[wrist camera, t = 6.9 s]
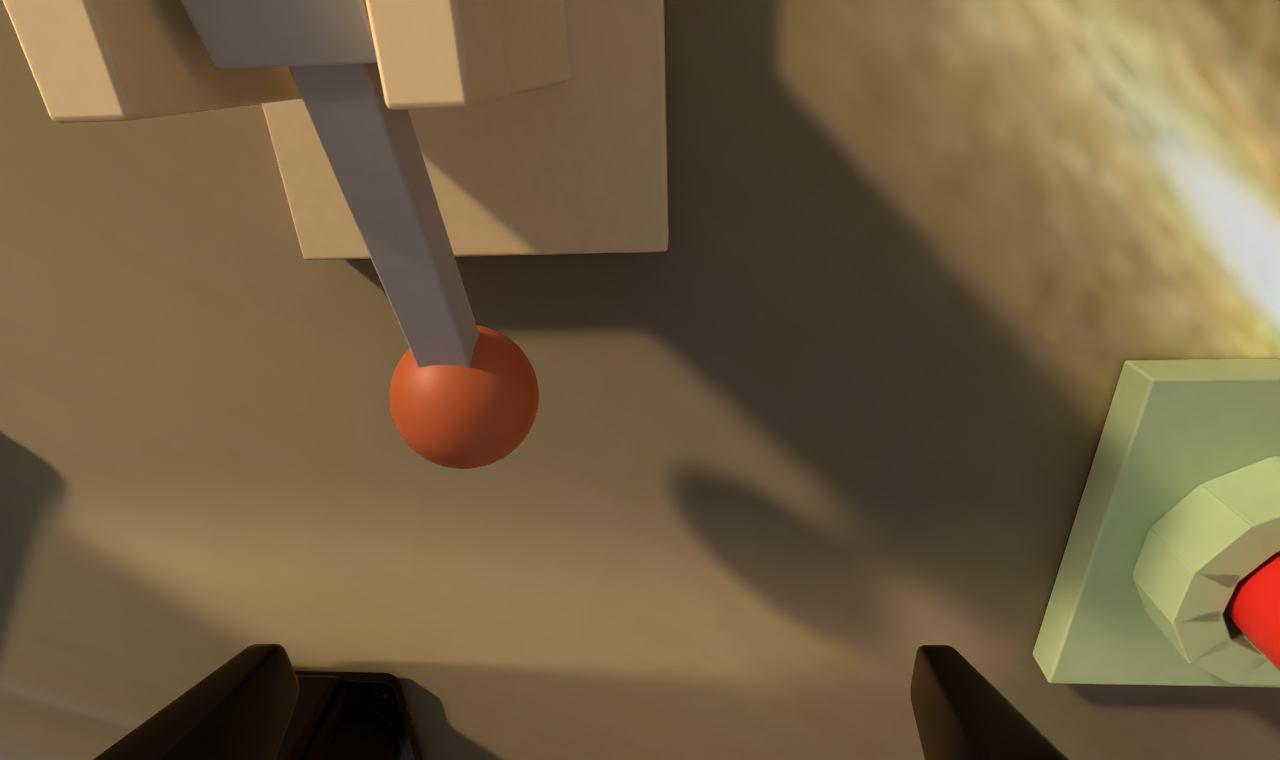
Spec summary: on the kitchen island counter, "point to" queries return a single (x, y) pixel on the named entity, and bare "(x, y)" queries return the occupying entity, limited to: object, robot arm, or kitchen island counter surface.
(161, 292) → the kitchen island counter surface
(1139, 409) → the button housing
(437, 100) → the switch bracket
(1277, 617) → the button
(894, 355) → the kitchen island counter surface
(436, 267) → the switch lever
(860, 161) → the kitchen island counter surface
